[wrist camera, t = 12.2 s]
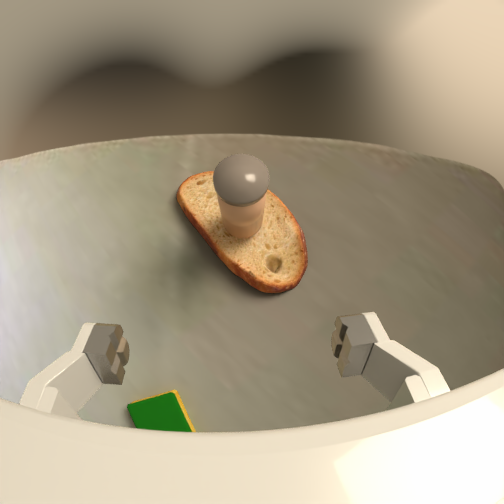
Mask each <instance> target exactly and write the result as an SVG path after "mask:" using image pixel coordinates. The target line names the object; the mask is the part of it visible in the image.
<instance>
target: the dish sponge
mask: <svg viewBox="0 0 504 504" xmlns="http://www.w3.org/2000/svg"><path fill="white" fill-rule="evenodd" d="M127 408H128V411H129V413H130V415H131V417H132V420H133V422H134V424H135V426H136V428H137V429H147V430H159V431H174V432H196V431H195V429H194V427H193V425H192V423H191V420H190V418H189V416H188V414H187V412H186V410H185V407H184V405H183V403H182V401H181V398H180V396H179V394H178V391H176V390H172V391H168V392H165V393H162V394H158V395H155V396H152V397H148V398H145V399H141V400H137V401H134V402H132V403H130V404H128V406H127Z"/></svg>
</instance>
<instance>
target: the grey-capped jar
mask: <svg viewBox="0 0 504 504" xmlns="http://www.w3.org/2000/svg"><path fill="white" fill-rule="evenodd" d="M213 184H214V189H215V192H216V194H217V198H218V203H219V207H220V212H221V217H222V221H223V225H224V228H225V229H226V231H227V232H228V233H229V234H230V235H232V236H234V237H237V238H248V237H251V236H253V235H255V234H256V233H257V232H258V231H259V230H260V228H261V226H262V223H263V216H264V208H265V201H266V193H267V189H268V185H269V172H268V169H267V167H266V166H265V164H264V163H263V162H262V161H261V160H259V159H258V158H256V157H254V156H252V155H248V154H235V155H231V156H229V157H227V158H225V159H223V160H222V161H221V162H220V163H219V164H218V165H217V167H216V168H215V170H214V173H213Z"/></svg>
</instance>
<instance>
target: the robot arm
mask: <svg viewBox="0 0 504 504" xmlns="http://www.w3.org/2000/svg"><path fill="white" fill-rule="evenodd" d="M335 327H336V330H334V331H333V332H332V337H331V347H332V351H333V355H334V356H335V357H336V358H338V362H337V367H338V370H339V373H340V375H341V378H342V377H349V376H356V375H362V377H363V378H365V379H366V380H367V381H368V382H369V383H370V384H371V385H372V386H373V387H375V388H376V389H377V390H378V391H379V392H380V393H381V394H382V395H383V396H385V397H386V398H387V399H388V400H389V401H390V402H391V404H390V406H389V407H388V409H387V410H386V411H383V412H379V413H375V414H371V415H366V416H362V417H357V418H352V419H347V420H342V421H336V422H330V423H324V424H318V425H311V426H303V427H295V428H286V429H276V430H264V431H248V432H174V431H159V430H147V429H137V428H128V427H120V426H113V425H106V424H100V423H94V422H89V421H83V420H82V419H81V418H80V417H79V415H78V414H77V412H78V411H79V410H80V409H81V408H82V407H83V406H84V405H85V404H86V402H87V401H88V400H89V399H90V398H91V397H92V396H93V395H94V394H95V393H96V391H97V390H98V389H99V388H100V387H101V386H102V385H103V384H102V383H104V384H117V385H122V382H123V378H124V374H125V370H124V368H123V366H125V365H126V364H127V363H128V360H129V345H128V342H127V340H126V339H125V338H124V337H123V336H122V335H123V330H122V327H121V325H118V324H103V323H85V324H83V326H82V328H81V330H80V332H79V335H78V337H77V339H76V341H75V343H74V345H73V347H72V350H71V352H69V351H68V352H66V353H65V354H64V355H62V356H61V357H60V358H58V359H57V360H56V361H54V362H53V363H52V364H50V365H49V366H48V367H46V368H45V369H44V370H43V371H41V372H40V373H39V374H37V375H36V376H35V377H34V378H32V379H31V380H30V381H29V382H28V384H27V386H26V389H25V391H24V393H23V396H22V398H21V400H20V403H19V404H16V403H13V402H10V401H7V400H4V399H2V398H0V504H504V368H503V369H501V370H499V371H497V372H495V373H493V374H491V375H488V376H486V377H484V378H482V379H479V380H477V381H474V382H472V383H470V384H467V385H465V386H462V387H460V388H457V389H454V390H452V391H450V389H449V387H448V386H447V384H446V382H445V380H444V378H443V376H442V375H441V373H440V371H439V369H438V368H437V367H436V366H434V365H432V364H431V363H429V362H428V361H426V360H424V359H423V358H421V357H420V356H418V355H416V354H415V353H413V352H412V351H410V350H408V349H407V348H405V347H404V346H402V345H400V344H399V343H397V342H396V341H394V340H391V341H390V339H389V337H388V336H387V334H386V332H385V330H384V328H383V326H382V324H381V323H380V321H379V319H378V317H377V315H376V314H375V313H374V312H369V313H362V314H354V315H345V316H337V318H336V320H335Z"/></svg>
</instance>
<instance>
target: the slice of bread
mask: <svg viewBox="0 0 504 504" xmlns="http://www.w3.org/2000/svg"><path fill="white" fill-rule="evenodd" d="M213 173H214V172H213V171H208V172H203V173H199V174H196V175H193V176H190V177H189V178H187V179H186V180H185V181H184V182H183V183H182V184H181V185H180V187H179V190H178V192H177V201H178V202H179V204H180V206H181V208H182V210H183V212H184V213H185V215H186V216H187V218H188V219H189V221H190V222H191V223H192V225H193V226H194V227H195V228H196V229H197V230H198V232H199V233H200V234H201V236H202V237H203V238H204V239H205V241H206V242H207V243H208V245H209V246H210V247H211V248H212V250H213V251H214V252H215V254H216V255H217V256H218V257H219V258H220V259H221V260H222V261H223V263H224V264H226V266H227V267H228V268H229V269H230V270H231V271H232V272H233V273H234V274H235V275H237V276H239V277H241V278H242V279H243V280H245V281H246V282H247V283H248V284H250V285H251V286H253V287H254V288H256V289H258V290H260V291H262V292H267V293H281V292H284V291H287V290H290V289H293V288H295V287H296V286H297V285H298V284H299V282H300V280H301V278H302V277H303V275H304V273H305V271H306V268H307V263H308V260H307V248H306V242H305V237H304V233H303V231H302V229H301V227H300V226H299V224H298V223H297V221H296V219H295V217H294V216H293V214H292V213H291V212H290V211H289V210H288V208H287V207H286V206H285V205H284V204H283V203H282V201H281V200H280V199H279V198H278V197H277V196H275V195H274V194H273V193H272V192H271V191H269V190H268V189H267V193H266V201H265V208H264V216H263V223H262V226H261V228H260V230H259V231H258V232H257V233H256V234H255V235H253V236H251V237H248V238H237V237H234V236H232V235H230V234H229V233H228V232H227V231H226V229H225V228H224V225H223V221H222V217H221V212H220V207H219V203H218V198H217V194H216V192H215V189H214V184H213Z"/></svg>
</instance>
